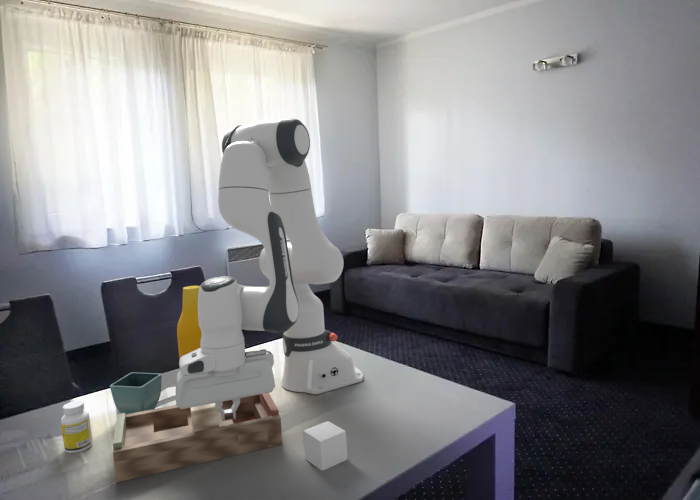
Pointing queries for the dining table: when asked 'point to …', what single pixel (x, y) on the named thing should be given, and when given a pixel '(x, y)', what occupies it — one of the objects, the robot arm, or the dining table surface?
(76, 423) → the supplement bottle
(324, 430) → the white cube
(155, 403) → the flower pot
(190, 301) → the beer bottle
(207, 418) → the ash block
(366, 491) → the dining table surface
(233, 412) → the robot arm
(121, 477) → the tray
